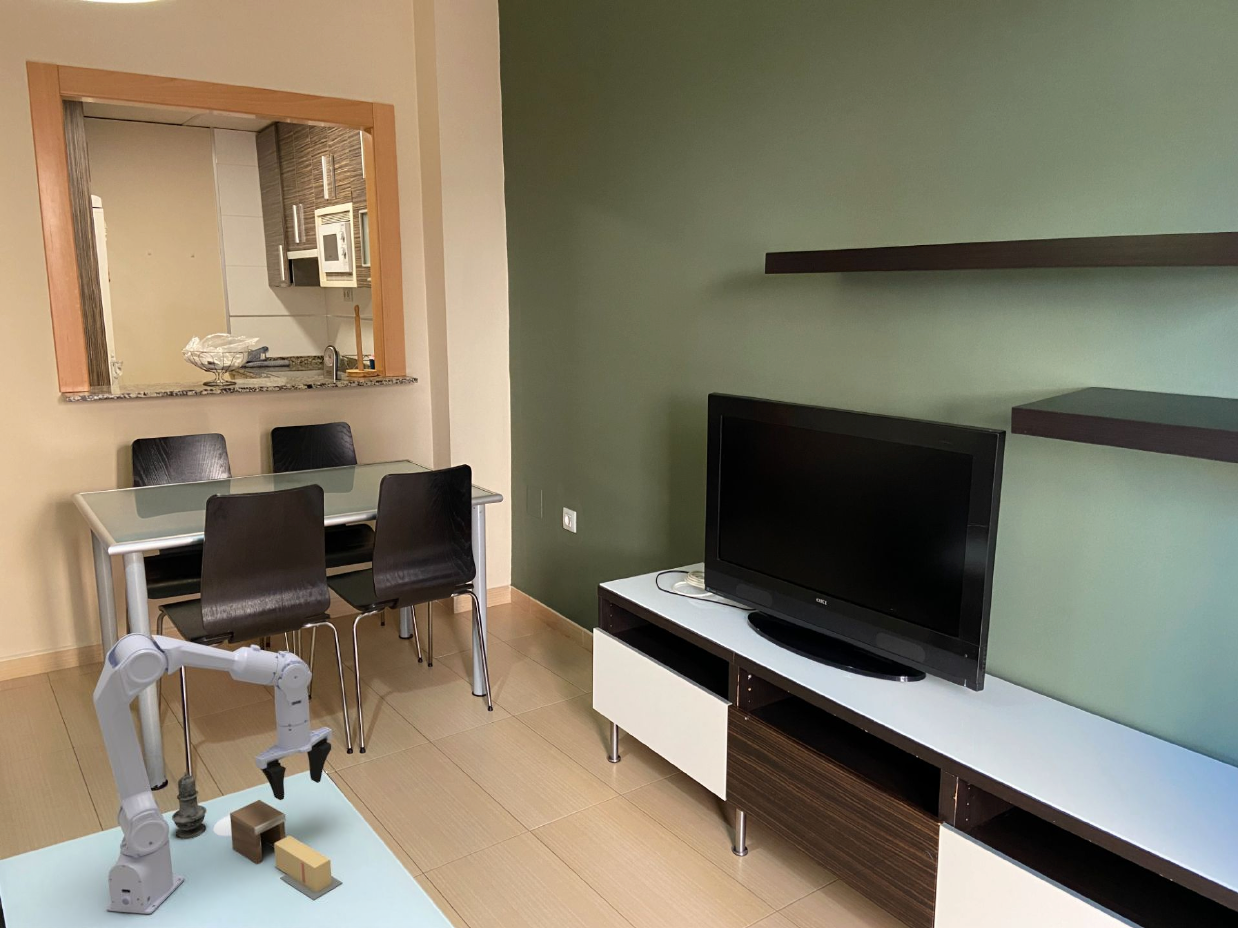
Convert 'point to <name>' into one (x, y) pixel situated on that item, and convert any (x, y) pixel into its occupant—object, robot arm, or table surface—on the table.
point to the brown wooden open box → (256, 829)
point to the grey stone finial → (188, 810)
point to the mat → (307, 890)
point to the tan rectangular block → (303, 863)
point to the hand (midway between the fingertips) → (297, 788)
